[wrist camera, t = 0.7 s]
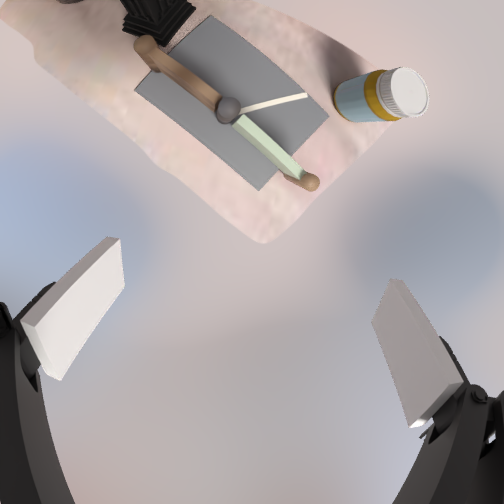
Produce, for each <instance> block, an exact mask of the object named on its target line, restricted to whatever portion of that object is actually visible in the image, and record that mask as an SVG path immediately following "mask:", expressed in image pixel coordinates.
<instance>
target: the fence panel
mask: <svg viewBox="0 0 504 504" xmlns="http://www.w3.org/2000/svg"><path fill="white" fill-rule="evenodd" d="M232 127H233V128H234V129H235V130H236V131H238V132H239V133H240V134H241V135H242V136H243V137H244V138H246V139H247V140H248V141H249V142H250V143H251V144H252V145H254V146H255V147H256V148H257V149H258V150H259V151H260V152H261V153H263V154H264V155H265V156H266V157H267V158H268V159H269V160H270V161H271V162H272V163H273V164H275V165H276V166H277V167H278V168H279V169H280V170H281V171H282V172H283V174H284V177H285V178H286V179H287V180H289V181H291V182H293V183H294V184H296V185H298V186H300V187H302V188H304V189H306V190H308V191H315V190H316V189H317V188H318V187H319V184H320V181H319V178H318V177H317V176H316V175H314V174H311V173H308V172H306V171H305V170H304V169H303V168H302V167H301V166H300V165H299V164H298V163H297V162H295V161H294V160H293V159H292V158H291V157H290V156H289V155H288V154H287V153H286V152H285V151H284V150H283V149H282V148H281V147H280V146H279V145H278V144H277V143H276V142H274V141H273V140H272V139H271V138H270V137H269V136H268V135H267V134H266V133H265V132H264V131H262V130H261V129H260V128H259V127H258V126H257V125H256V124H255V123H253V122H252V121H251V120H250V119H249V118H248V117H247V116H245V115H244V114H243V115H242V116H241V117H240V118H239V119H237V120H236V121H235V122H234V124H233V125H232Z"/></svg>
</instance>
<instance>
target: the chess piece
mask: <svg viewBox="0 0 504 504" xmlns="http://www.w3.org/2000/svg"><path fill="white" fill-rule="evenodd" d="M120 1H121V3H122V4H123V5H124V7H125V8H126V10H127V11H128V14H127V15H126V17H125V18H124V19H123V20H124V21H125V22H124V24H123V26H124V28H123V29H122V30H123V32H126V33H129V34H132V35H135V36H138V37H141V36H143V35H150V36H152V37H153V38H154V40H155V41H156V43H157V44H158V45H161V46H163V47H166V45H167V44H168V43H169V41H170V40H171V39H172V37H173V36H174V35H175V34H176V32H177V31H178V30H179V29H180V27H181V26H182V25H183V24H184V23H185V21H186V20H187V19H188V18H189V17H190V15H191V14H192V13H193V12H194V11H195V10H196V7H194V6H192V4H191V3H189V2H187V0H120Z"/></svg>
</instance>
